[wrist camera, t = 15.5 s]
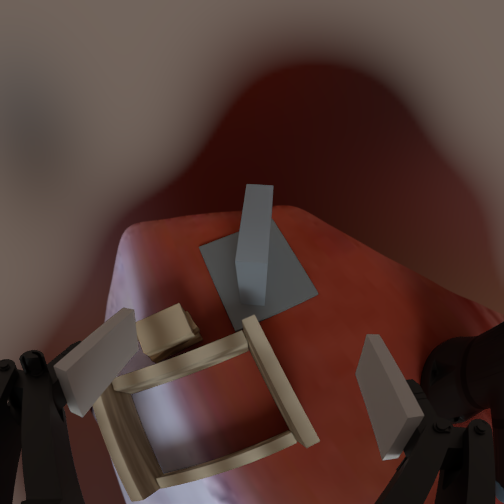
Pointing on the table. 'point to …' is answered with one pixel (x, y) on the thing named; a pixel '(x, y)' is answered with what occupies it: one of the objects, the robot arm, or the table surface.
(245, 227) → the grey rectangular block
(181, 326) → the offcut
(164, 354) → the offcut
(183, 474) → the rack
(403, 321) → the table surface
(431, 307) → the table surface
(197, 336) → the offcut
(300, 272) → the mat
